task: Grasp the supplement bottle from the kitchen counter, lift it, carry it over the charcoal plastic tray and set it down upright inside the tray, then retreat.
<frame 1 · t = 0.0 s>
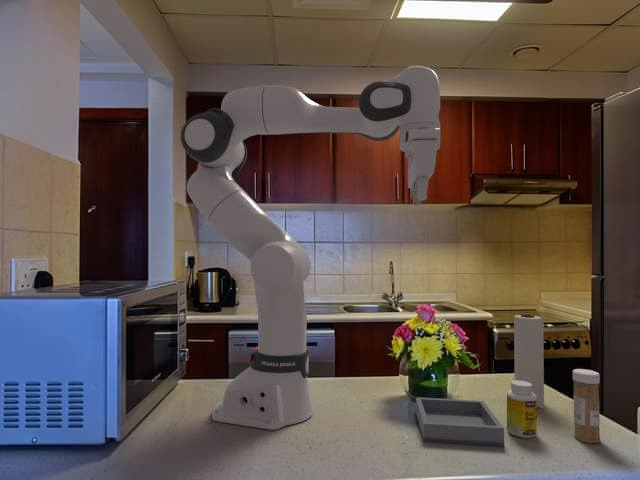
hand: (419, 202, 93), 48 cm above the countertop, fingers open, 8 cm apart
supplement bottle: (521, 434, 85), on the countertop
tray: (455, 428, 88), on the countertop
spice jar: (586, 440, 83), on the countertop
paper towel roll: (528, 403, 103), on the countertop
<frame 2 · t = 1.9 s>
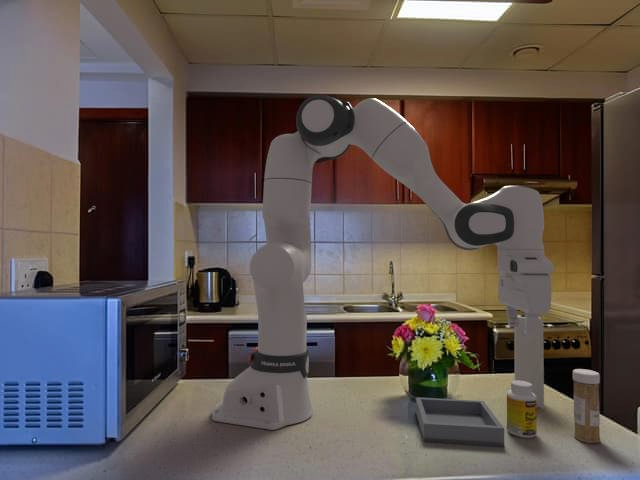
hand: (521, 330, 86), 21 cm above the countertop, fingers open, 8 cm apart
nothing on the countertop moved.
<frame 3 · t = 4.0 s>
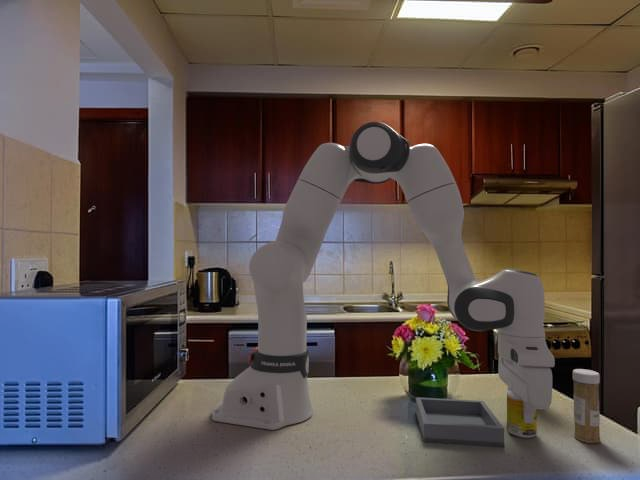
hand: (521, 415, 86), 4 cm above the countertop, fingers closed on supplement bottle, 6 cm apart
supplement bottle: (521, 434, 85), on the countertop, touching gripper
everything else where it was.
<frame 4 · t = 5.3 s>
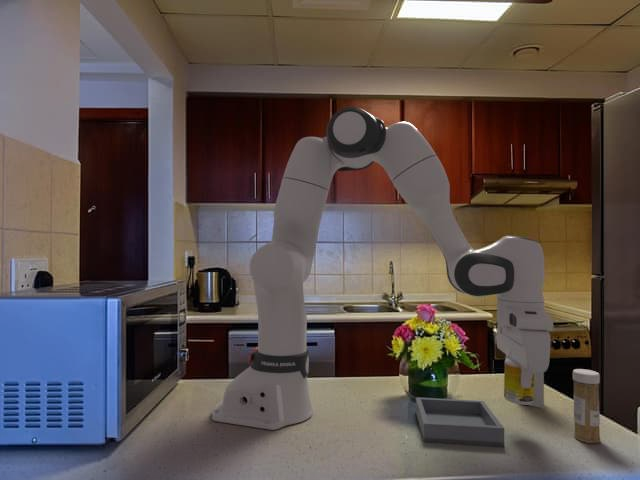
hand: (518, 381, 86), 10 cm above the countertop, fingers closed on supplement bottle, 6 cm apart
supplement bottle: (518, 401, 86), point 6 cm above the countertop, touching gripper
everything else where it was.
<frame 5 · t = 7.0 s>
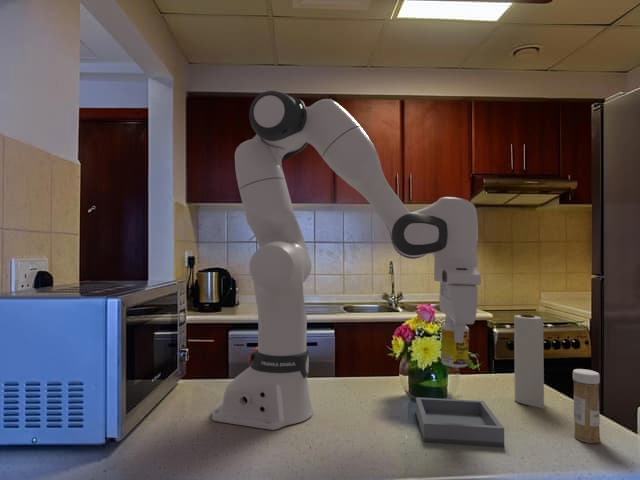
hand: (454, 338, 88), 19 cm above the countertop, fingers closed on supplement bottle, 6 cm apart
supplement bottle: (454, 365, 88), point 13 cm above the countertop, touching gripper
everything else where it was.
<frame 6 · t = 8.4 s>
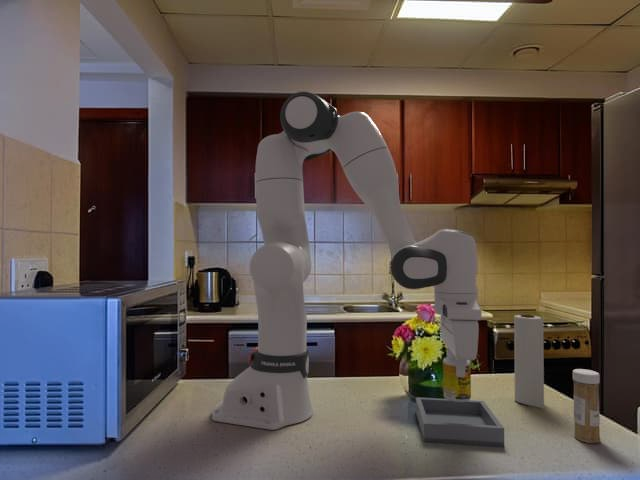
hand: (456, 371, 88), 12 cm above the countertop, fingers closed on supplement bottle, 6 cm apart
supplement bottle: (457, 399, 88), point 6 cm above the countertop, touching gripper
everything else where it was.
when the fingers open (6 cm above the countertop, at t = 10.0 s): supplement bottle stays where it is, resting on tray.
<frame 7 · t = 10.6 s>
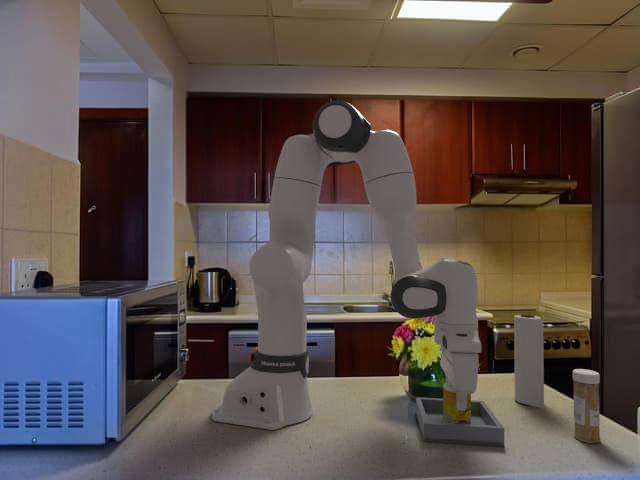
hand: (456, 401, 88), 6 cm above the countertop, fingers open, 8 cm apart
supplement bottle: (456, 425, 88), point 1 cm above the countertop, touching tray
everything else where it was.
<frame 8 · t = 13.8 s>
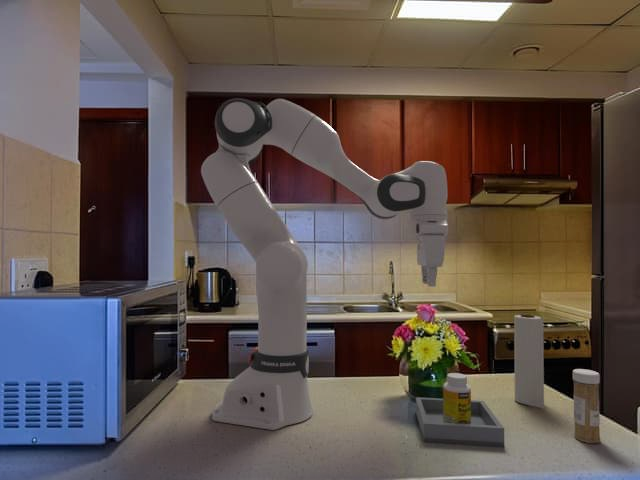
hand: (428, 284, 101), 29 cm above the countertop, fingers open, 8 cm apart
nothing on the countertop moved.
at the end: supplement bottle inside the target area on the tray (0.2 cm from its centre), point 0.6 cm above the tray's base; supplement bottle tilted 0°; the gripper is holding nothing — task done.
